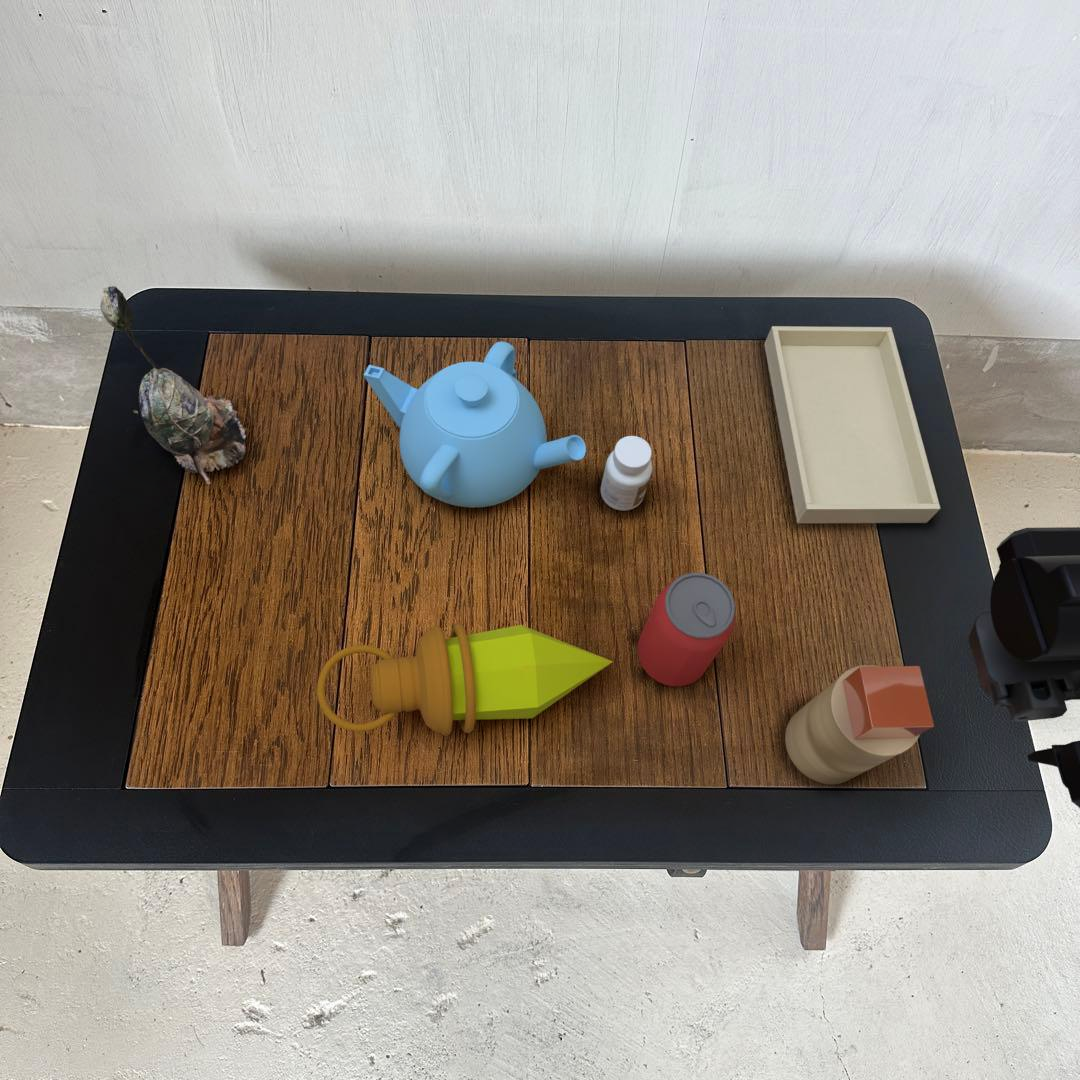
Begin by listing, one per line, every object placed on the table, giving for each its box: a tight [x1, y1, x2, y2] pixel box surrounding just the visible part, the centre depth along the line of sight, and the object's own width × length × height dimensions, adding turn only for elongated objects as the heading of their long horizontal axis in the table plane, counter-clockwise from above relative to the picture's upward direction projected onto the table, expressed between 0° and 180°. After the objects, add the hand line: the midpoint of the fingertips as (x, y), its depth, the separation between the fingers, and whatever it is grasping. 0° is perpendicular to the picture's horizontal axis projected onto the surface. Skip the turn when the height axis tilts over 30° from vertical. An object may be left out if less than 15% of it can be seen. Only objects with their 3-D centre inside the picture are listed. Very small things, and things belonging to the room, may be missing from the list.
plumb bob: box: [316, 623, 614, 737], centre depth 71 cm, size 9×9×25 cm
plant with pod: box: [99, 285, 247, 486], centre depth 76 cm, size 8×11×20 cm
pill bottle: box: [600, 435, 653, 512], centre depth 81 cm, size 4×4×8 cm
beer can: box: [637, 572, 736, 687], centre depth 72 cm, size 7×7×12 cm
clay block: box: [843, 665, 935, 739], centre depth 62 cm, size 4×4×4 cm
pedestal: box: [784, 664, 921, 785], centre depth 69 cm, size 7×7×12 cm
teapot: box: [363, 340, 587, 508], centre depth 81 cm, size 15×17×11 cm
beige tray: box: [763, 325, 941, 524], centre depth 88 cm, size 22×13×3 cm, turn 2°
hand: (1016, 696), depth 64 cm, fingers open, 9 cm apart
